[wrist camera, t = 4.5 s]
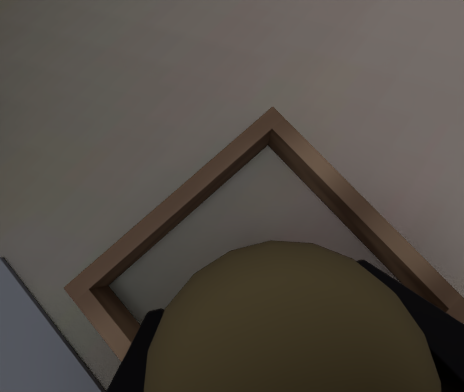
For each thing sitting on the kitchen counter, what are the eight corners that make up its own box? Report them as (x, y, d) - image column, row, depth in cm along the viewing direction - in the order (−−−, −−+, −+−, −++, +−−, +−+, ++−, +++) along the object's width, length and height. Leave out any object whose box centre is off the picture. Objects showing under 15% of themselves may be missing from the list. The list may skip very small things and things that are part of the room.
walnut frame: (443, 303, 22) (475, 310, 19) (255, 497, 20) (259, 537, 17) (268, 125, 24) (272, 106, 21) (86, 284, 23) (63, 287, 20)
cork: (313, 402, 15) (508, 764, 4) (175, 368, 15) (24, 617, 4) (336, 261, 16) (539, 254, 5) (208, 232, 16) (149, 169, 6)
